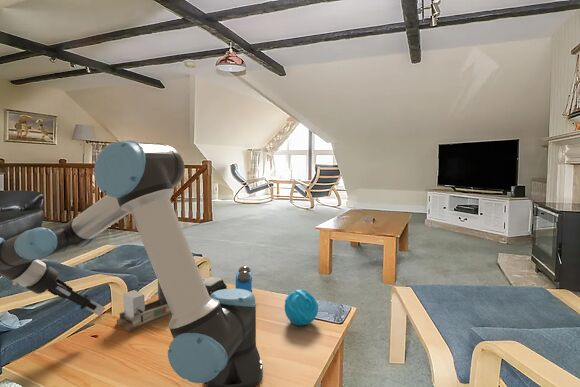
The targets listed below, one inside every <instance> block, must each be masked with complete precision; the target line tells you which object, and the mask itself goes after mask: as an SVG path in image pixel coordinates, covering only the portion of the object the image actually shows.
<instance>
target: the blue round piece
mask: <svg viewBox="0 0 580 387" xmlns="http://www.w3.org/2000/svg"><path fill="white" fill-rule="evenodd" d="M318 312H319V304H318V302H317V300H316V299H315V297H314V296H313V295H311V294H310V293H309V292H308V291H306V290H305V289H296V290H294V291H291V292H290V293H289V294H288V295H287V296H286V298H285V300H284V313H285V315H286V317H287V320H289V322H290V323H291V324H293V325H295V326H299V327H300V326H306V325H308V324H309V325H310V323H312V322H313V321H314V320H315V318H316V317H317V315H318Z"/></svg>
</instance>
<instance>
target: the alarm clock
mask: <svg viewBox="0 0 580 387" xmlns="http://www.w3.org/2000/svg"><path fill="white" fill-rule="evenodd" d="M251 271H252V270H251V268H250V267H249V266H246V265H243V266H241V267H239V268H238V272H236V274H235V289H244V290H248V291H250V292H252V293H253V288H252V285H253V284H252V283H253V277H252V272H251Z"/></svg>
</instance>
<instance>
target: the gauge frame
mask: <svg viewBox="0 0 580 387" xmlns="http://www.w3.org/2000/svg"><path fill="white" fill-rule="evenodd" d="M157 293H158V294H157V296H158V299H157V300H153V301H151V302H148V303H145V312H144V313H142V314H139V315H136V316H134V317H132V319H133V323H132V322H130V321H128V320H127V319H125V318H124V311H123V312H120V313H119V318H118V319H116V325H118V326H119V327H121V328H122V329H124V330H125V331H127V332H129V333H133V332H136V331H139V330H140V329H143V328H146V327H148V326H150V325H153V324H156V323H158V322H160V321H163V320H165V319H168V318H171V317H172V313H171V311H170V308H169V306H168V303H167V301H166V298H165V296H164V294H163V291H162V289H161V286H160V284H159V281H158V280H157Z"/></svg>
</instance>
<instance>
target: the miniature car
mask: <svg viewBox="0 0 580 387" xmlns="http://www.w3.org/2000/svg"><path fill="white" fill-rule="evenodd" d="M203 281H204V284H205V286H206V289H207V291H208V294H209V296H211V294H212V293H213V292H215V291H218V290H222V289H228V288H227V286H228V285H226V283H225V282H224V280H223V278H220V277H214V276H210V277H207V278H205V279H203Z"/></svg>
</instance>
